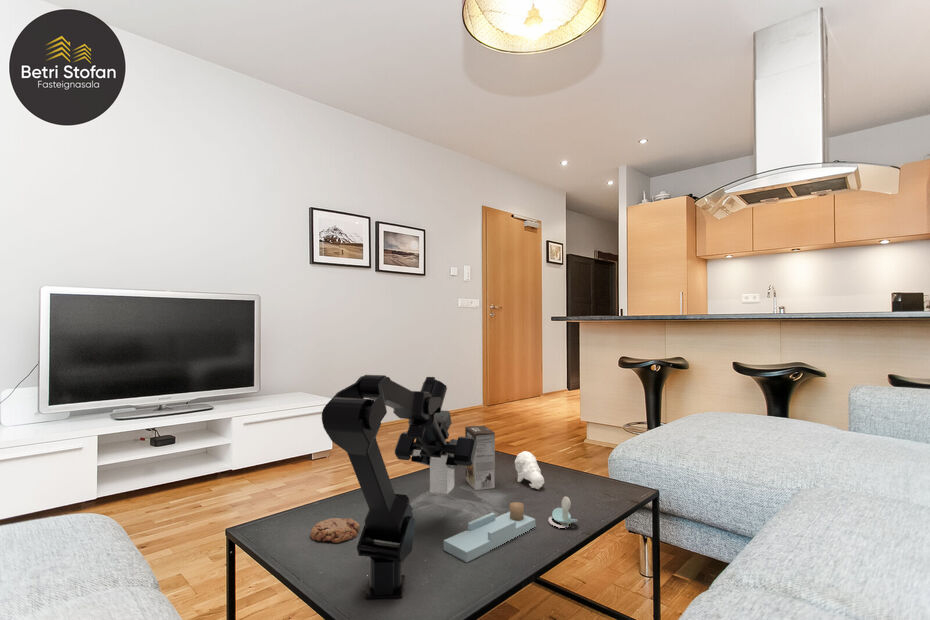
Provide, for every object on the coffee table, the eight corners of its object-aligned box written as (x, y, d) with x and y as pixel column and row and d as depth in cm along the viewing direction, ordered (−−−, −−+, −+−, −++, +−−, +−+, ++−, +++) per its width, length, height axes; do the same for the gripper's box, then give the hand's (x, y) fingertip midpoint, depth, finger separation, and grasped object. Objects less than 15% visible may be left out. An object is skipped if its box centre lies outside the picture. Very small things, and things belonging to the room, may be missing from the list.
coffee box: (464, 480, 140) (464, 426, 140) (484, 478, 141) (484, 424, 142) (474, 490, 131) (474, 433, 131) (495, 488, 133) (495, 431, 133)
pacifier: (556, 533, 105) (580, 529, 107) (555, 505, 105) (579, 501, 107) (543, 519, 112) (566, 516, 114) (542, 493, 113) (565, 490, 114)
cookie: (309, 530, 107) (309, 517, 108) (356, 522, 111) (356, 510, 111) (311, 550, 98) (311, 535, 98) (362, 541, 102) (362, 527, 102)
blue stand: (466, 562, 92) (466, 537, 92) (443, 549, 97) (443, 525, 97) (535, 527, 107) (535, 506, 107) (512, 518, 112) (512, 497, 112)
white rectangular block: (447, 494, 109) (447, 451, 109) (429, 492, 110) (429, 449, 110) (455, 485, 114) (455, 444, 115) (438, 483, 116) (438, 443, 116)
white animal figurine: (532, 448, 142) (551, 463, 131) (531, 475, 143) (550, 492, 132) (513, 450, 140) (530, 465, 129) (512, 477, 141) (529, 495, 130)
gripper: (474, 403, 106) (487, 440, 116) (399, 399, 111) (418, 434, 122) (464, 446, 98) (478, 482, 108) (384, 440, 104) (405, 474, 114)
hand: (444, 466), depth 113 cm, fingers closed on white rectangular block, 4 cm apart
